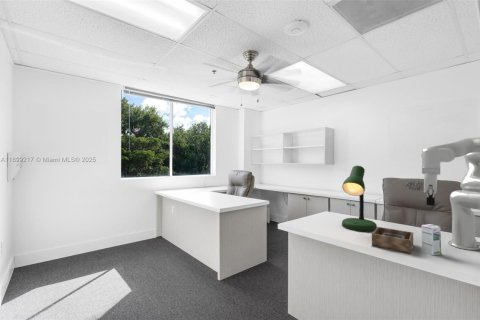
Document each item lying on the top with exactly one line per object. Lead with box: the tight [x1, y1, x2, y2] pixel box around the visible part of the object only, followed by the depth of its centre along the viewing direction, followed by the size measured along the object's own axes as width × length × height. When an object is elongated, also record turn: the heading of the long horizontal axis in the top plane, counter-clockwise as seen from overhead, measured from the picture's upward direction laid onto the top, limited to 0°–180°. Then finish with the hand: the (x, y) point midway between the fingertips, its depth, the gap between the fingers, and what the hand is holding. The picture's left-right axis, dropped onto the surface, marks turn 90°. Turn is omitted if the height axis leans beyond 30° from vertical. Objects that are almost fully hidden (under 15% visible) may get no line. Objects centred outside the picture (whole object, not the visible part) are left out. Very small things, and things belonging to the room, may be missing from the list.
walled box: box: [371, 226, 414, 255], centre depth 133 cm, size 18×18×7 cm
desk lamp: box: [341, 165, 378, 233], centre depth 166 cm, size 31×23×45 cm
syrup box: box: [421, 223, 442, 256], centre depth 122 cm, size 6×6×14 cm
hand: (430, 204), depth 122 cm, fingers open, 9 cm apart
